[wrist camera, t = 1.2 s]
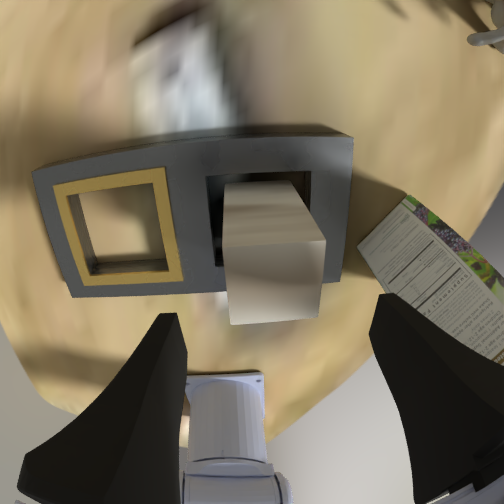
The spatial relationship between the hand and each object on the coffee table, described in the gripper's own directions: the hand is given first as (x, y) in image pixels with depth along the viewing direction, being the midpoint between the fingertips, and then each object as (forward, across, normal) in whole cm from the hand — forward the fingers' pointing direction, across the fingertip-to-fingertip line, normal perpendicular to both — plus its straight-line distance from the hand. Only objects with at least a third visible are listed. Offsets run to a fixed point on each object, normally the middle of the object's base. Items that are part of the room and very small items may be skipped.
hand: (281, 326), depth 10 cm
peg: (+10, 0, 0) cm, 10 cm away
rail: (+10, +4, 0) cm, 11 cm away
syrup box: (+11, -11, +3) cm, 15 cm away
